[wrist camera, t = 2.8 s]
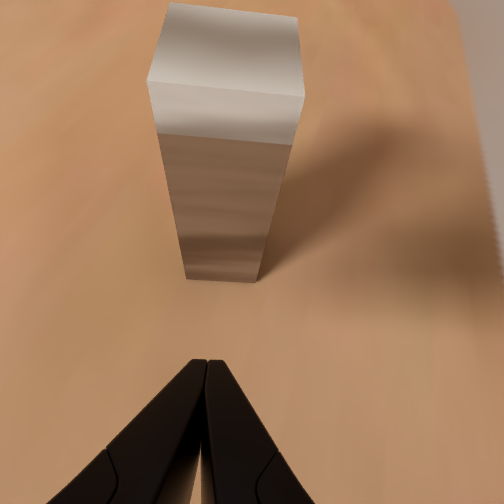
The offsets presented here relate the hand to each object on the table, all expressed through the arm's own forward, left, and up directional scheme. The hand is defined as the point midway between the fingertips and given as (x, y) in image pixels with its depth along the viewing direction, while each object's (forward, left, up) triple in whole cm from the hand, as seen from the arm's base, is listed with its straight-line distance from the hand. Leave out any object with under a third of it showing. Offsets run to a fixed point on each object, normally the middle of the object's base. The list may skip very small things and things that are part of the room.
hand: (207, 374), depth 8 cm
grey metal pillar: (+8, -6, -12) cm, 16 cm away
